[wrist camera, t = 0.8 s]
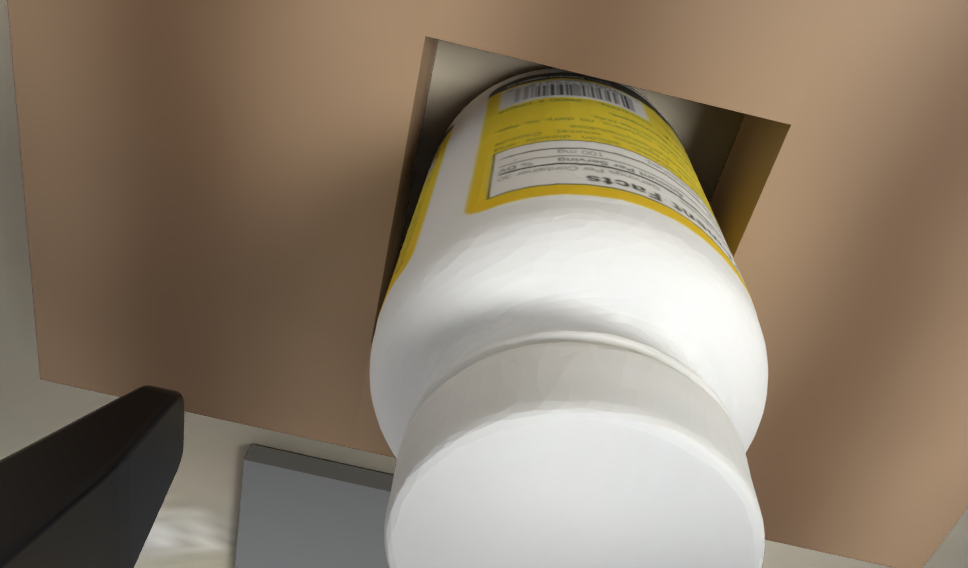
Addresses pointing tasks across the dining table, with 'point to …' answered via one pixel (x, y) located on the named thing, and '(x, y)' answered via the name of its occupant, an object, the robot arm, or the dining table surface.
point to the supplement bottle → (568, 346)
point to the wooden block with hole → (386, 187)
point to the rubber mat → (310, 513)
